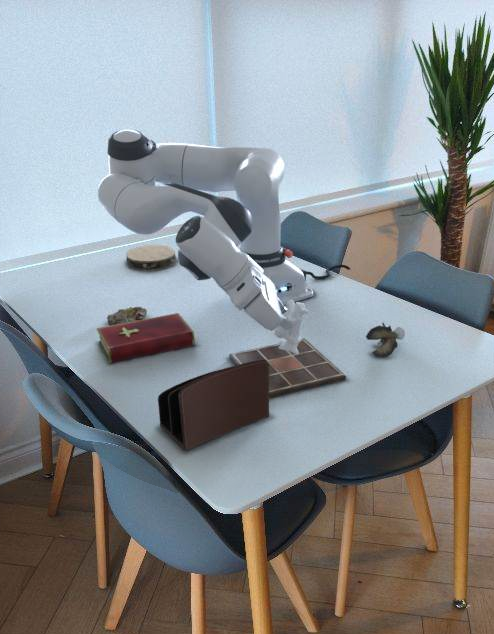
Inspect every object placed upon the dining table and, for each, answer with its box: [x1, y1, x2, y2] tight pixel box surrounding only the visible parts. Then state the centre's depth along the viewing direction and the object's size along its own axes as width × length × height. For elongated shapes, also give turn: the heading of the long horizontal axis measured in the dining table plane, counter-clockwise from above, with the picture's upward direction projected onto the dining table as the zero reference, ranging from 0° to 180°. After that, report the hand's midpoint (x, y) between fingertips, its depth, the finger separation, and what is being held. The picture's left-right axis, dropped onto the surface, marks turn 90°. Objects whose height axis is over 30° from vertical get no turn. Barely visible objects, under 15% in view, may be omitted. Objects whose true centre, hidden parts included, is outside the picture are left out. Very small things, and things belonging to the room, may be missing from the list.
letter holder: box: [157, 359, 270, 452], centre depth 117 cm, size 10×20×14 cm, turn 126°
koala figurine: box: [273, 300, 309, 354], centre depth 133 cm, size 8×7×12 cm
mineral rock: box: [106, 306, 148, 325], centre depth 161 cm, size 11×4×8 cm
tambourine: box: [125, 244, 177, 271], centre depth 198 cm, size 16×16×3 cm
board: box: [228, 337, 347, 399], centre depth 139 cm, size 20×20×1 cm
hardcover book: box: [96, 312, 196, 364], centre depth 148 cm, size 12×21×4 cm, turn 115°
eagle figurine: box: [365, 321, 406, 358], centre depth 145 cm, size 8×7×9 cm
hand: (288, 320), depth 133 cm, fingers closed on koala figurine, 5 cm apart
